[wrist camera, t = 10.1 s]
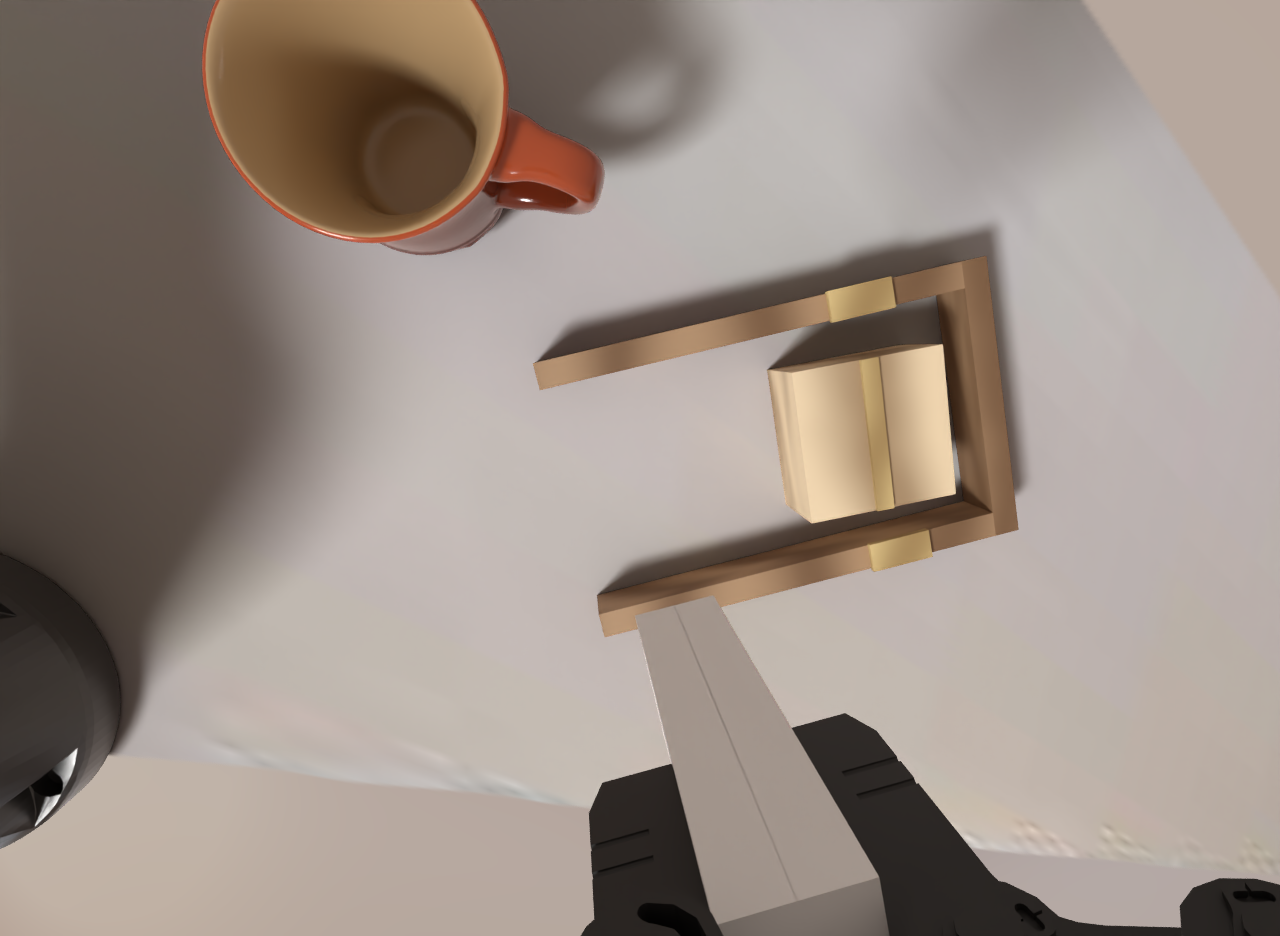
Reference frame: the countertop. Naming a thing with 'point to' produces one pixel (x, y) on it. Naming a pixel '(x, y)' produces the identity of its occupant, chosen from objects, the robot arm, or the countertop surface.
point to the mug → (383, 121)
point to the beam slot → (870, 546)
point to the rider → (863, 431)
